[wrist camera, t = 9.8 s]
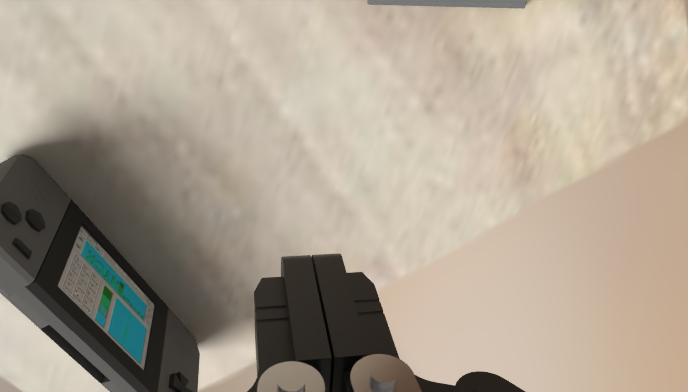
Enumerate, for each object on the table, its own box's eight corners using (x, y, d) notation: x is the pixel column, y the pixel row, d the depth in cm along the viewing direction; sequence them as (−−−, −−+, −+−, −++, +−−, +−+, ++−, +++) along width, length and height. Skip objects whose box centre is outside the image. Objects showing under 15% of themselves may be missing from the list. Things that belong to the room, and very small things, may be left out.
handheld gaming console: (204, 340, 53) (200, 432, 45) (178, 353, 54) (169, 447, 45) (28, 143, 41) (-24, 218, 33) (-4, 160, 42) (-64, 239, 33)
